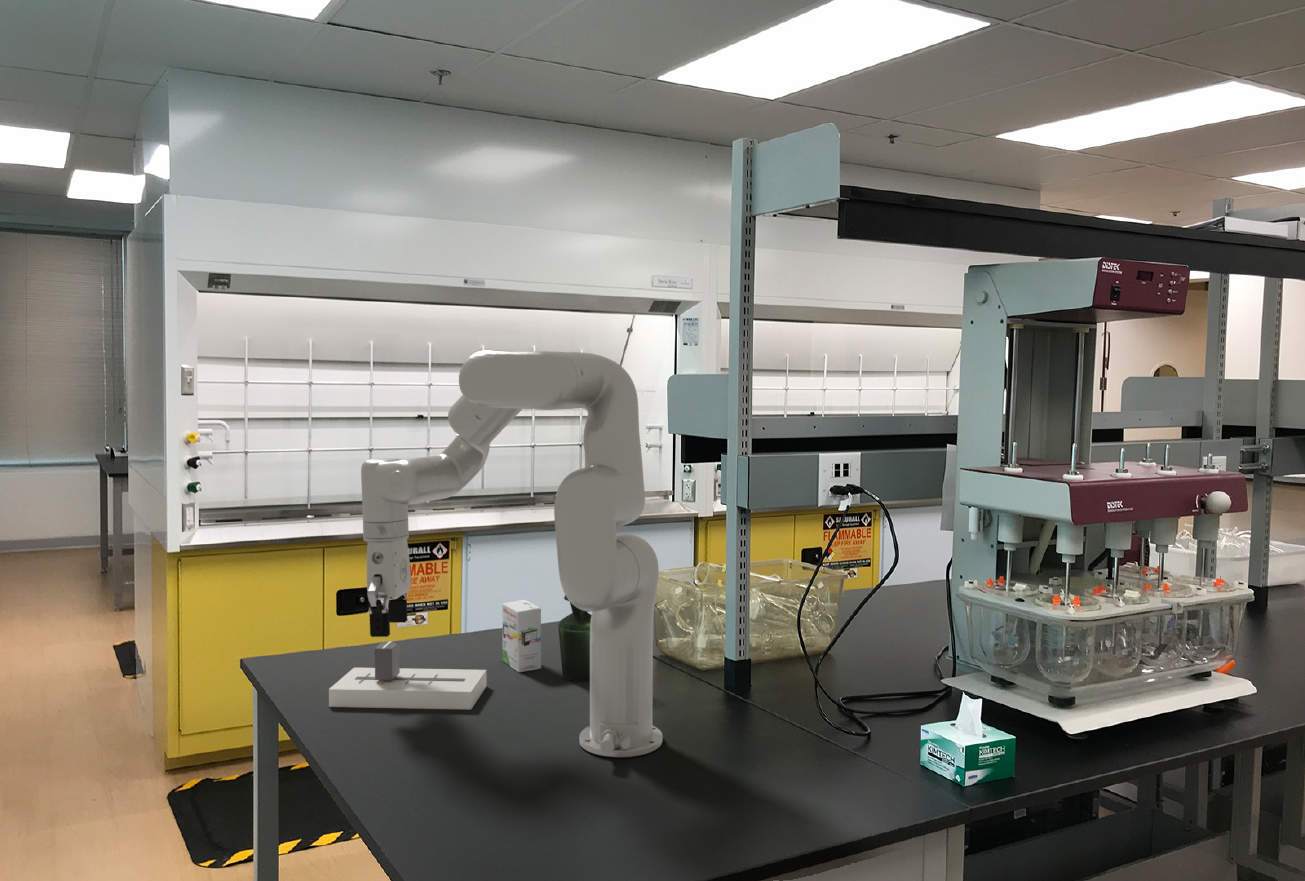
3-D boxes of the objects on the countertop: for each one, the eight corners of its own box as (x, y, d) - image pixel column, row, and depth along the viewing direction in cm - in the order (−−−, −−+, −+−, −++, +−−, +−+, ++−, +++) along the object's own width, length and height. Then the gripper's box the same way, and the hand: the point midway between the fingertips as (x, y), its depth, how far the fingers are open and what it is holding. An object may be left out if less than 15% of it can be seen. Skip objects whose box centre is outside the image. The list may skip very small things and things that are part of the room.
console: (471, 709, 159) (470, 691, 158) (329, 706, 160) (328, 688, 159) (486, 686, 171) (486, 669, 170) (354, 683, 172) (354, 667, 171)
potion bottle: (600, 683, 173) (600, 585, 172) (555, 682, 173) (555, 584, 172) (603, 669, 181) (603, 575, 180) (560, 668, 181) (560, 575, 180)
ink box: (501, 661, 186) (501, 601, 185) (524, 657, 188) (524, 598, 188) (518, 673, 178) (517, 611, 178) (542, 669, 181) (542, 608, 180)
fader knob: (392, 680, 163) (391, 647, 163) (375, 680, 163) (374, 647, 163) (399, 673, 167) (399, 641, 167) (382, 672, 167) (382, 641, 167)
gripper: (391, 538, 155) (395, 642, 155) (421, 523, 172) (424, 616, 173) (346, 538, 155) (350, 642, 156) (380, 523, 172) (384, 617, 173)
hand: (389, 629), depth 164 cm, fingers open, 9 cm apart
